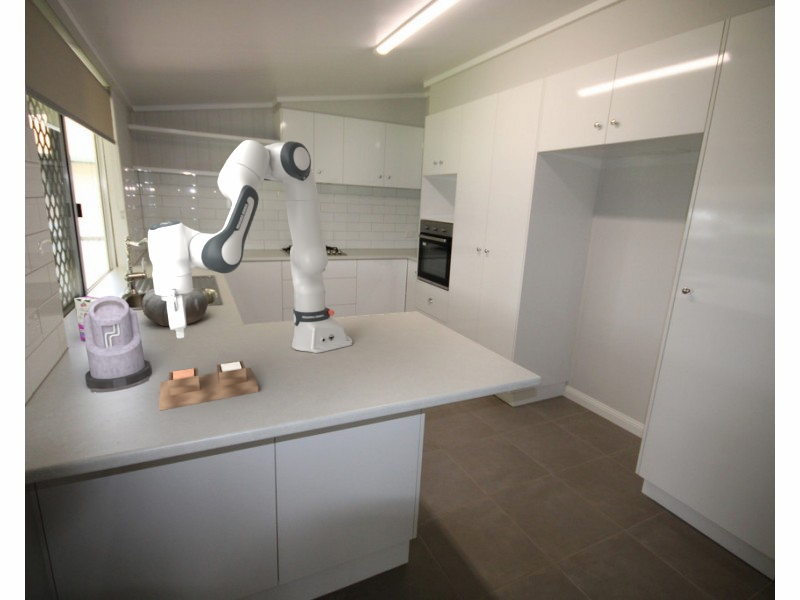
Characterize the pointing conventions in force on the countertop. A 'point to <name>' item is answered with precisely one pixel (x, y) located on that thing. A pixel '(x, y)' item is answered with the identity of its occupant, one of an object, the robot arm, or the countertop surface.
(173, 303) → the robot arm
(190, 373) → the terracotta key
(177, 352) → the countertop surface
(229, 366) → the ivory key
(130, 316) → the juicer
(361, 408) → the countertop surface
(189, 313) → the gourd
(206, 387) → the key panel
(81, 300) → the candy bar box
